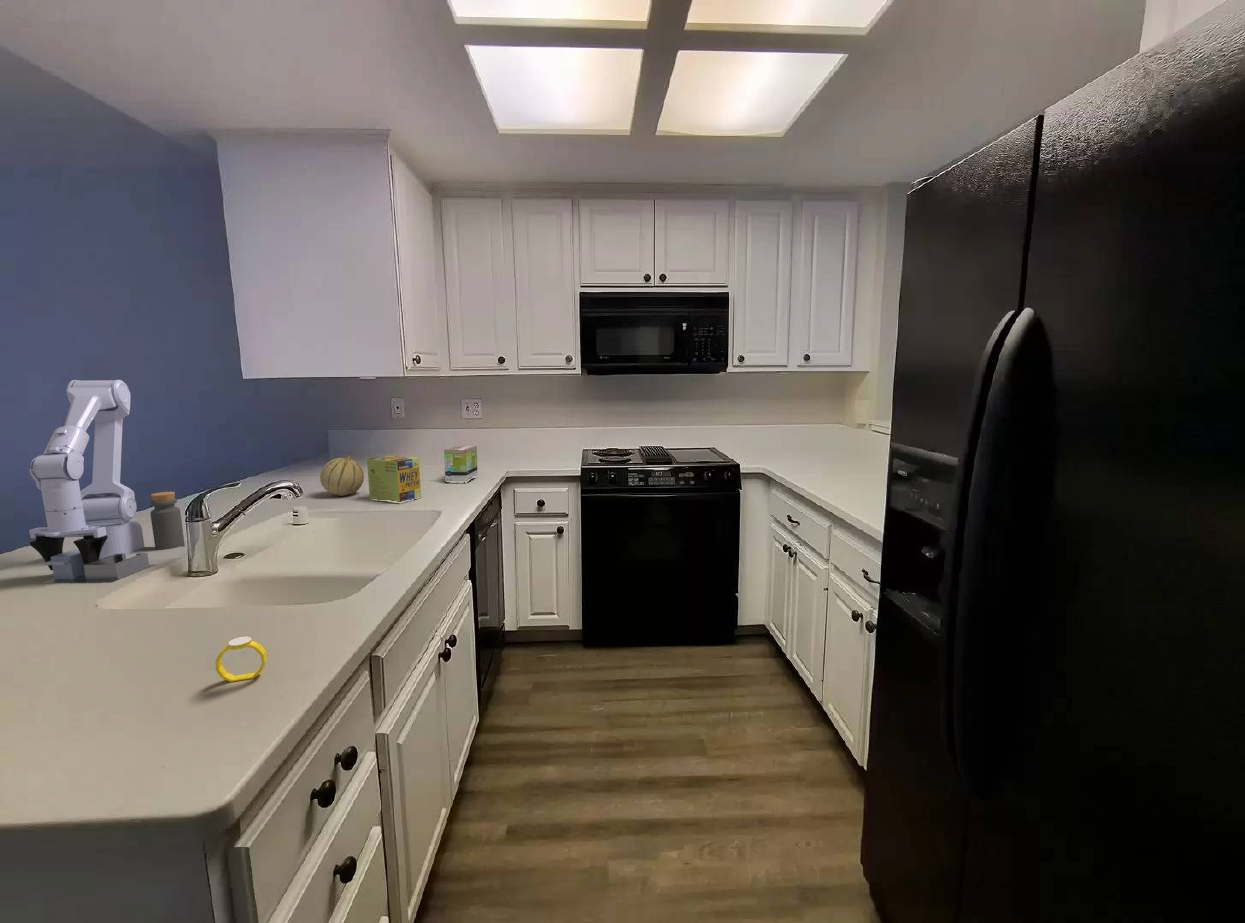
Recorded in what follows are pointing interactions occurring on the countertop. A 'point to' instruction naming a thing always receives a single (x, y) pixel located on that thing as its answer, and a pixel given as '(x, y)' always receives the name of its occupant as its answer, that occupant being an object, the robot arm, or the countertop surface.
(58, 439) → the robot arm
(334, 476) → the cantaloupe
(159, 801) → the countertop surface
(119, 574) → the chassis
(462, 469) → the tea box
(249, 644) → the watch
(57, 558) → the block
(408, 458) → the protein box
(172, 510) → the bottle
